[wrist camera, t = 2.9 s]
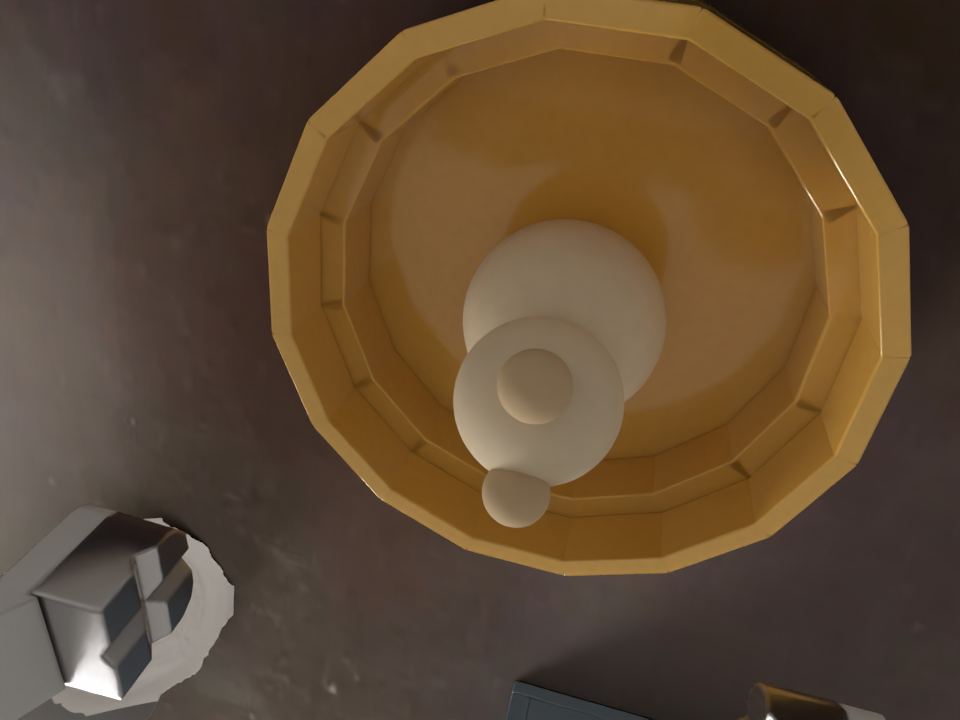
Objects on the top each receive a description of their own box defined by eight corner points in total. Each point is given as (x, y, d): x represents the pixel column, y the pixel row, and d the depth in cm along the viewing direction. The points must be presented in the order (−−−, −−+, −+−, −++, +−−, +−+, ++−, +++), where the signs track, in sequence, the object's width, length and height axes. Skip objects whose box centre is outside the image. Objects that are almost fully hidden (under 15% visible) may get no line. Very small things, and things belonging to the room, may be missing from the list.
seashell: (184, 500, 36) (-1, 521, 30) (235, 509, 32) (37, 535, 26) (182, 661, 35) (-6, 714, 30) (235, 688, 32) (32, 755, 26)
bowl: (969, 32, 16) (1062, 54, 12) (760, 524, 24) (776, 632, 20) (339, -52, 18) (250, -55, 14) (337, 422, 26) (279, 501, 22)
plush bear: (688, 212, 19) (696, 376, 11) (644, 376, 21) (627, 595, 14) (499, 178, 19) (391, 311, 12) (479, 340, 22) (381, 530, 15)
